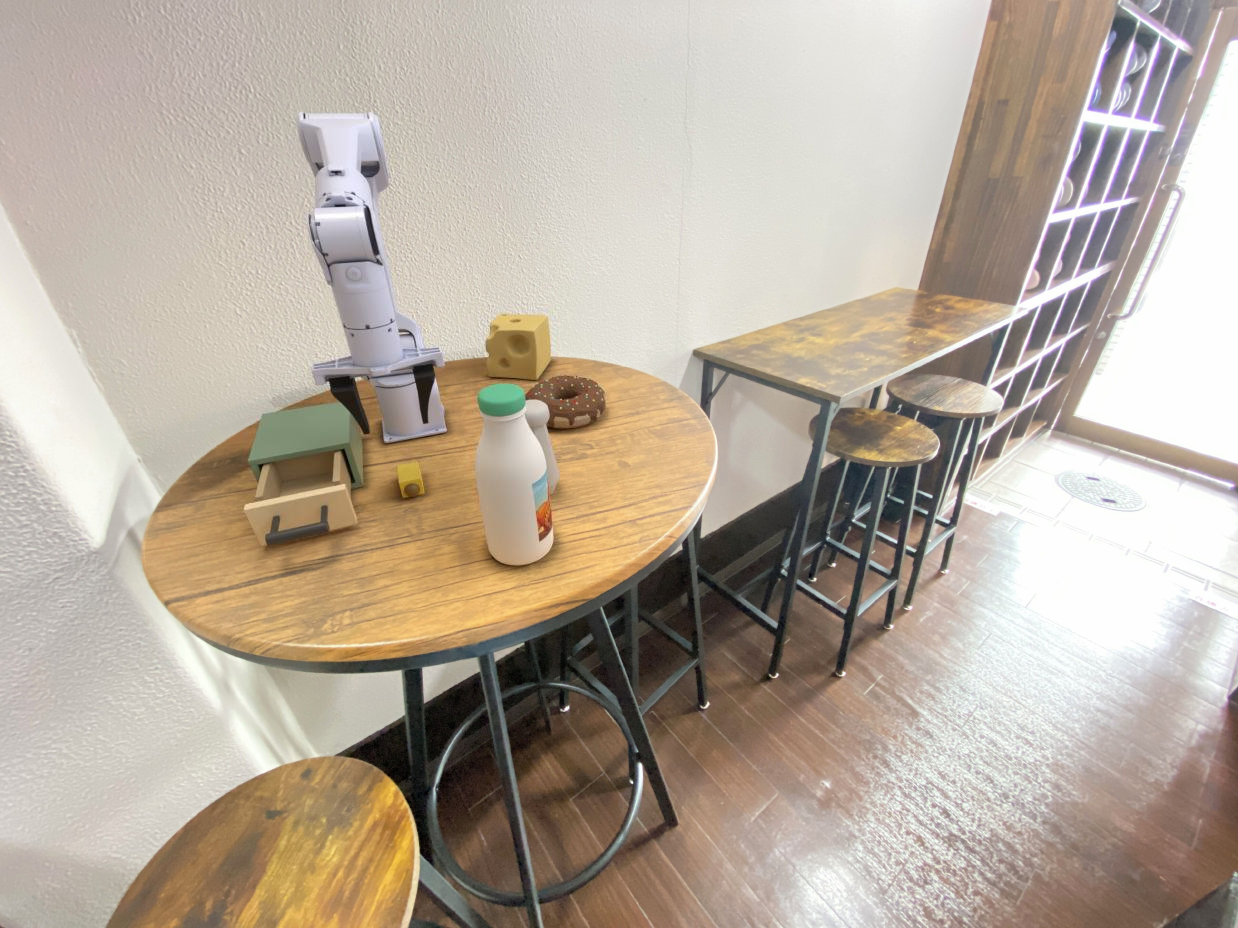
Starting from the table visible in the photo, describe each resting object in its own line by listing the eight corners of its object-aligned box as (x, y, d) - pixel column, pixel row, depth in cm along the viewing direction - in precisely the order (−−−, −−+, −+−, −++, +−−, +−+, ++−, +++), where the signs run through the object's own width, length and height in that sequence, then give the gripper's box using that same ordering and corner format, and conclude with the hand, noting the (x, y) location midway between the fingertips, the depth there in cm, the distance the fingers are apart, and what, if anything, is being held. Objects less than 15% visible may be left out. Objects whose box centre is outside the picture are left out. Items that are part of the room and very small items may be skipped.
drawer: (357, 547, 62) (344, 511, 59) (254, 572, 58) (235, 535, 55) (356, 471, 75) (346, 439, 72) (273, 488, 72) (258, 454, 69)
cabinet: (363, 486, 73) (349, 442, 70) (268, 506, 70) (247, 460, 66) (362, 440, 84) (349, 399, 80) (279, 455, 80) (262, 413, 76)
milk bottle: (525, 577, 59) (503, 416, 48) (474, 552, 62) (443, 397, 51) (567, 537, 64) (555, 385, 53) (518, 516, 68) (498, 370, 57)
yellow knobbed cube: (420, 473, 76) (417, 457, 75) (425, 497, 71) (421, 481, 70) (400, 477, 75) (396, 462, 74) (403, 502, 70) (399, 486, 69)
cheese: (487, 378, 104) (480, 328, 99) (506, 357, 113) (500, 310, 108) (539, 381, 103) (534, 331, 97) (554, 360, 112) (550, 313, 106)
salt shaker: (553, 505, 70) (545, 417, 63) (512, 500, 71) (499, 413, 64) (565, 480, 75) (560, 396, 68) (527, 475, 76) (517, 392, 68)
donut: (606, 396, 97) (605, 370, 95) (606, 433, 86) (606, 405, 83) (527, 397, 97) (525, 371, 94) (517, 434, 85) (514, 406, 83)
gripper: (295, 341, 56) (333, 451, 63) (438, 324, 60) (458, 428, 68) (300, 321, 61) (335, 425, 69) (431, 307, 66) (450, 405, 73)
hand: (396, 425), depth 69 cm, fingers open, 6 cm apart
